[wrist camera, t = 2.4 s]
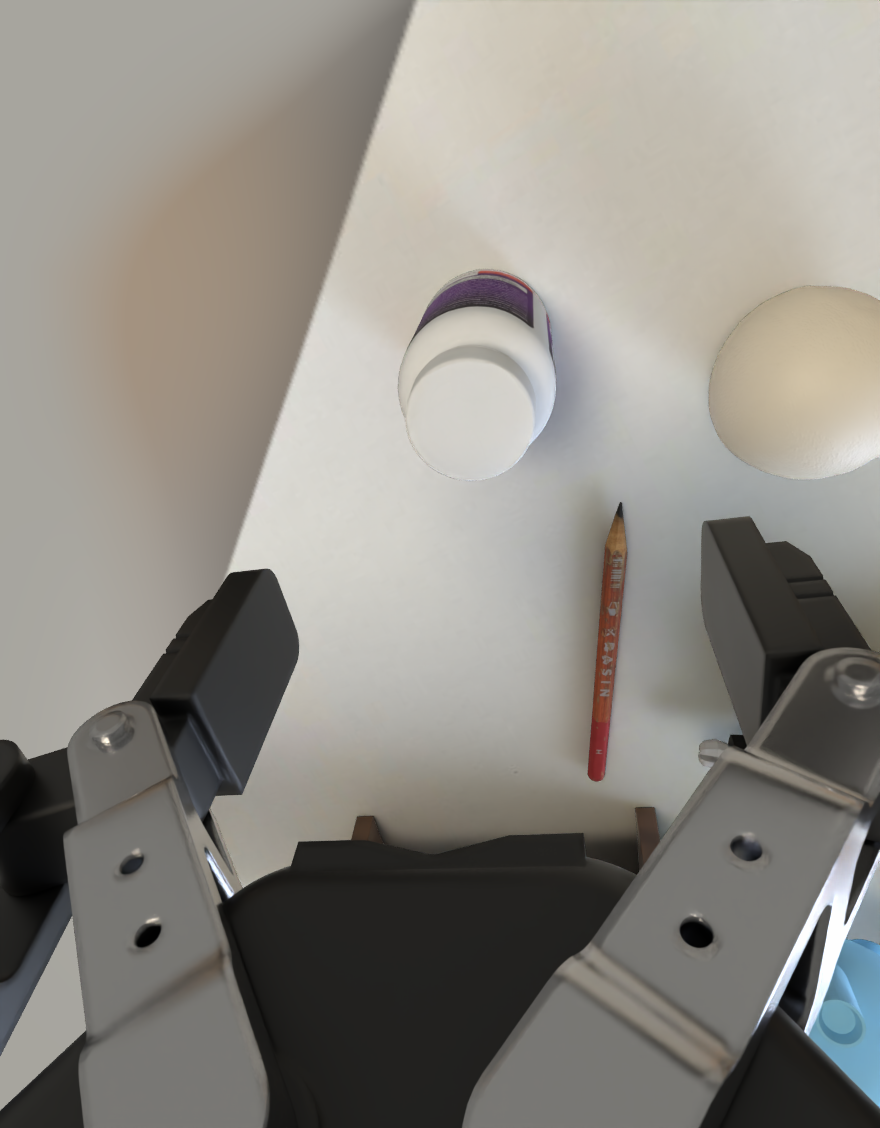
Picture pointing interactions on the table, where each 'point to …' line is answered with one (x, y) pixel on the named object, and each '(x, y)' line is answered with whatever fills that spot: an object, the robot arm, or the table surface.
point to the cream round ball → (802, 384)
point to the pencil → (607, 644)
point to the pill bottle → (478, 375)
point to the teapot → (853, 1016)
